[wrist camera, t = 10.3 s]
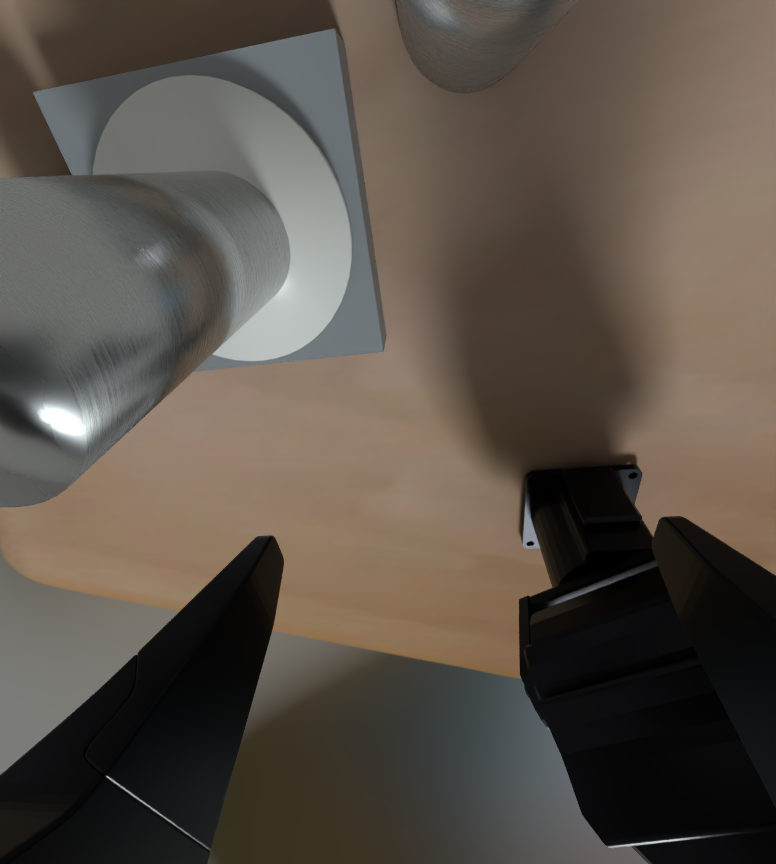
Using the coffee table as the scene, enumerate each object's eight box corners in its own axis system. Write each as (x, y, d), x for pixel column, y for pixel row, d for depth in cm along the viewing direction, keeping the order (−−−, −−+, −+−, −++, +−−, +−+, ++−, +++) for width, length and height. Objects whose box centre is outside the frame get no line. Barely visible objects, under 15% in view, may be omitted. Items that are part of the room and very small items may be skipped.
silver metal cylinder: (274, 327, 18) (86, 540, 8) (158, 280, 17) (-221, 451, 7) (305, 206, 15) (78, 293, 5) (169, 144, 14) (-423, 101, 4)
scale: (386, 336, 20) (378, 378, 16) (136, 363, 22) (74, 407, 18) (344, 43, 15) (316, -2, 11) (7, 113, 16) (-127, 97, 12)
